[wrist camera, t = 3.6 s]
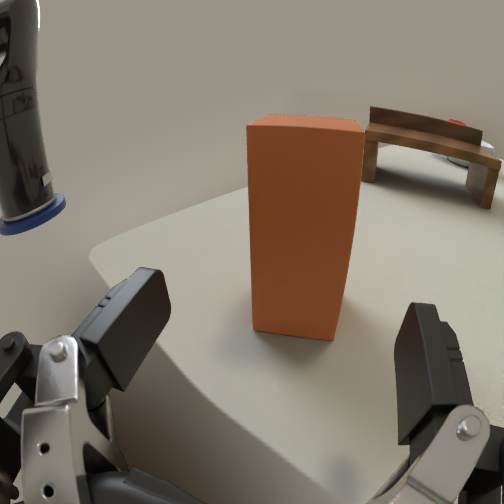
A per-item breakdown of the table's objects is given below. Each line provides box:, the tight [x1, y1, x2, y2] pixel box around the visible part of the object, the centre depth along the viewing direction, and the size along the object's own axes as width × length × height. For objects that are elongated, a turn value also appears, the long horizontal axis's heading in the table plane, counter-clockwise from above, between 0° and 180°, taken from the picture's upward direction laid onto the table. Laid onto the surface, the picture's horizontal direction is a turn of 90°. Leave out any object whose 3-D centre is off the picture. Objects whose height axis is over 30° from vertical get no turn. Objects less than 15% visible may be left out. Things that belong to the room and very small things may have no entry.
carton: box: [246, 114, 365, 341], centre depth 17 cm, size 5×5×12 cm
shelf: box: [361, 106, 502, 209], centre depth 41 cm, size 22×14×11 cm, turn 66°
